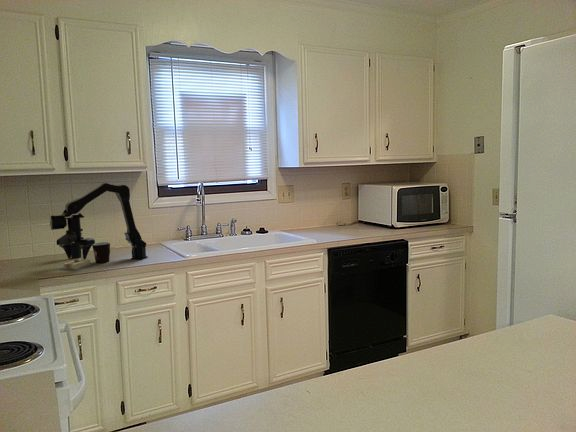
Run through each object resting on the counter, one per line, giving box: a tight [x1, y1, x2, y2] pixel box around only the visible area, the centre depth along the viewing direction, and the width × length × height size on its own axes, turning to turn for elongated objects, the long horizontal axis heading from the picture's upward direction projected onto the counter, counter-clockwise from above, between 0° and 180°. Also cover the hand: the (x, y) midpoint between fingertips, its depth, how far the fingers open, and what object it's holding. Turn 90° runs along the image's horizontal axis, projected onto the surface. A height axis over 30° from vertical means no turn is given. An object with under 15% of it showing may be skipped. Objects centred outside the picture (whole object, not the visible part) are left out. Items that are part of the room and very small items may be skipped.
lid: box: [63, 258, 91, 269], centre depth 234 cm, size 7×10×4 cm
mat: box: [54, 262, 100, 272], centre depth 234 cm, size 14×16×1 cm
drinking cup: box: [70, 232, 83, 260], centre depth 256 cm, size 8×8×20 cm
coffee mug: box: [92, 241, 111, 264], centre depth 242 cm, size 12×9×10 cm
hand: (77, 258), depth 233 cm, fingers open, 9 cm apart
